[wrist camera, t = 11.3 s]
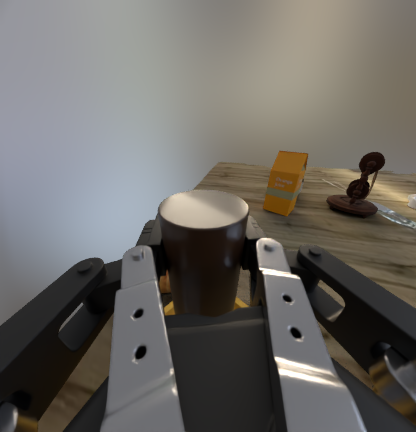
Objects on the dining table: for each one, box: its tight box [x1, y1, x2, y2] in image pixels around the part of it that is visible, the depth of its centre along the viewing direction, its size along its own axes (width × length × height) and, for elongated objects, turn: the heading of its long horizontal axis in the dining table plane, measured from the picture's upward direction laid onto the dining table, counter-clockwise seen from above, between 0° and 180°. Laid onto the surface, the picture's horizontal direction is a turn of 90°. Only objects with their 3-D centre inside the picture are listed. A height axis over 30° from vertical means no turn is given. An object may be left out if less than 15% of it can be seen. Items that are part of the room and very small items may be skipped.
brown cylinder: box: [158, 190, 249, 317], centre depth 11 cm, size 4×4×13 cm
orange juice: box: [263, 151, 308, 216], centre depth 54 cm, size 8×9×20 cm
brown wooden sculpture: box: [326, 152, 385, 218], centre depth 55 cm, size 15×15×20 cm
